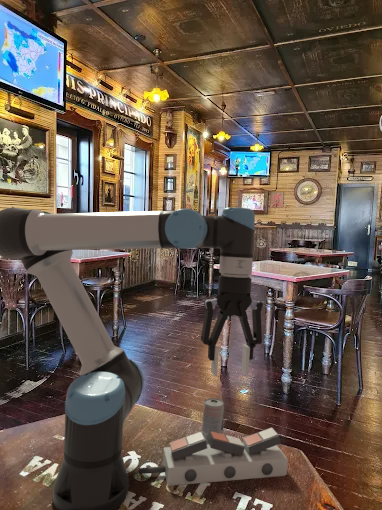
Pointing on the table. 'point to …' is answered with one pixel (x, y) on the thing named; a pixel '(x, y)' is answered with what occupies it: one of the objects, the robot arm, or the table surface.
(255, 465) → the power strip
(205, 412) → the energy drink
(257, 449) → the rocker
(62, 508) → the robot arm
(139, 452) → the table surface
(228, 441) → the rocker
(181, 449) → the rocker
